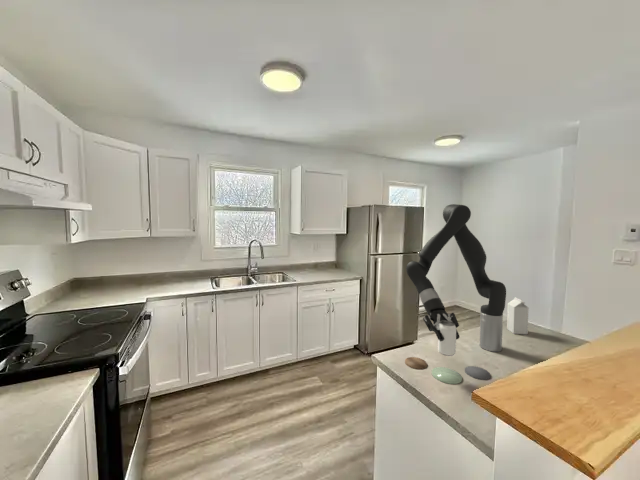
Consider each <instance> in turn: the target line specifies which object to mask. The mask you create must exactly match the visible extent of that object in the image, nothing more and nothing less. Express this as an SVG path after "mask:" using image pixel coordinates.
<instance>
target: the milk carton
mask: <svg viewBox="0 0 640 480" xmlns="http://www.w3.org/2000/svg"><path fill="white" fill-rule="evenodd" d="M513 297H514V298H513V299H512V300H511V301H509V302H507V314H506V316H507V317H506V318H507V319H506V330H507V331H509V332H510V333H512V334H514V335H528V331H529V330H528V329H529V327H528V326H529V307H528V306H527V305H526V302H525V301H523V300H522V299H520V298H518V297H515V296H513Z"/></svg>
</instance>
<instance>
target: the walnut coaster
mask: <svg viewBox="0 0 640 480" xmlns="http://www.w3.org/2000/svg"><path fill="white" fill-rule="evenodd" d="M404 363H405V365H406V366H407V367H409V368H411V369H415V370H423V369H424V370H425V369H426V368H427V366H428V363H427V361H425V360H424V359H422V358H419V357H415V356H410V357H409V356H408V357H407V358H405V360H404Z"/></svg>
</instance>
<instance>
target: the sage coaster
mask: <svg viewBox="0 0 640 480" xmlns="http://www.w3.org/2000/svg"><path fill="white" fill-rule="evenodd" d="M431 375H432V377H433V378H434V379H436V380H437V381H439V382H441V383H444V384H448V385H457V384H460V383H461V382H463V381H462V380H463V375H462V374H460V372H458V371H456V370H454V369H452V368H450V367H445V366H444V367H443V366H438V367H434V368H432V370H431Z"/></svg>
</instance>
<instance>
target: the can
mask: <svg viewBox="0 0 640 480" xmlns="http://www.w3.org/2000/svg"><path fill="white" fill-rule="evenodd" d="M439 330H440V332H441V333H442V335H443V337H444V340H443V341H440V340H439V339H438V338H437V352H438V353H439V354H441V355H443V356H447V357H452V356H455V355H456V354H457V351H456V349H457V340H456V330H457V328H456V326H455V323H453V322H451V321H444V322H442V321H440V324H439Z"/></svg>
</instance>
